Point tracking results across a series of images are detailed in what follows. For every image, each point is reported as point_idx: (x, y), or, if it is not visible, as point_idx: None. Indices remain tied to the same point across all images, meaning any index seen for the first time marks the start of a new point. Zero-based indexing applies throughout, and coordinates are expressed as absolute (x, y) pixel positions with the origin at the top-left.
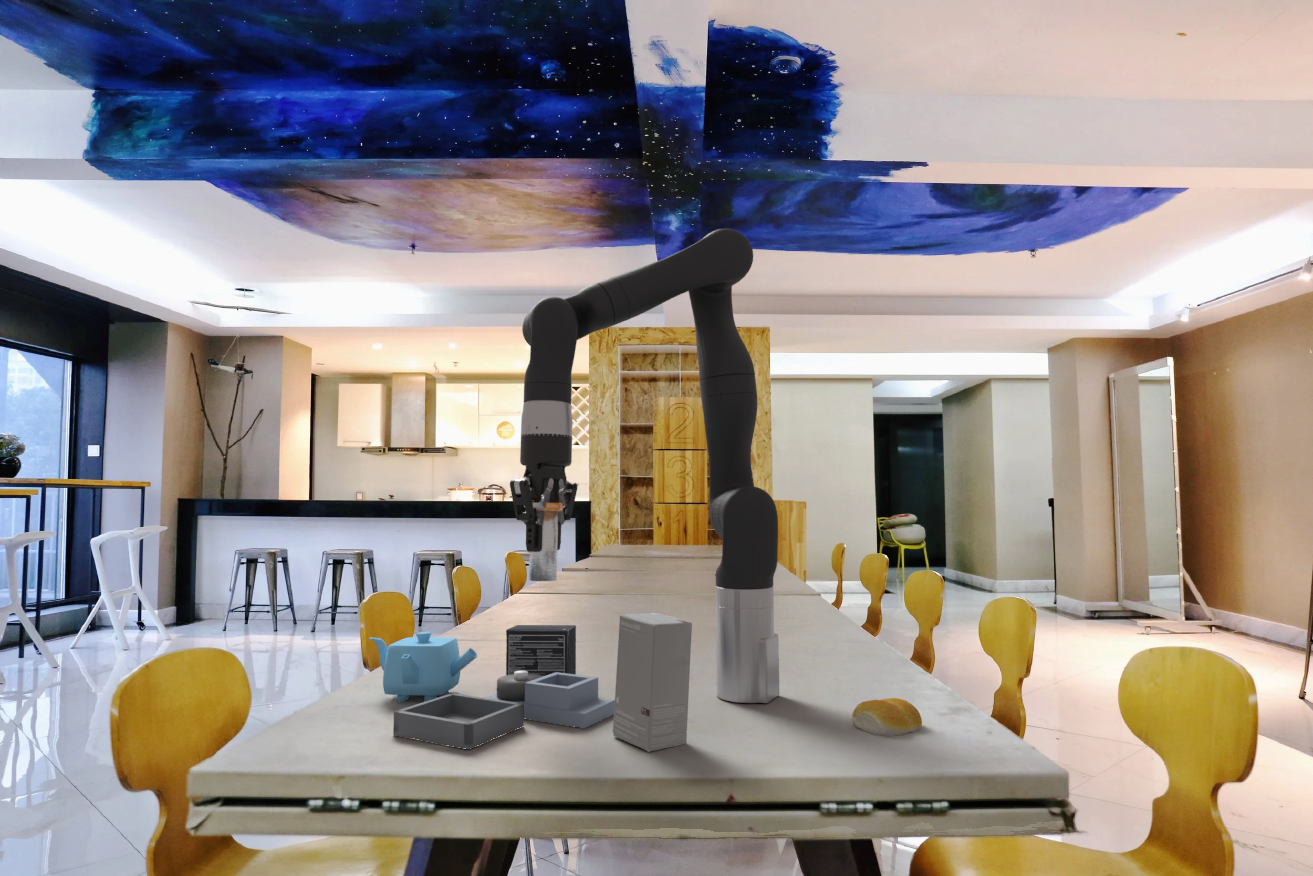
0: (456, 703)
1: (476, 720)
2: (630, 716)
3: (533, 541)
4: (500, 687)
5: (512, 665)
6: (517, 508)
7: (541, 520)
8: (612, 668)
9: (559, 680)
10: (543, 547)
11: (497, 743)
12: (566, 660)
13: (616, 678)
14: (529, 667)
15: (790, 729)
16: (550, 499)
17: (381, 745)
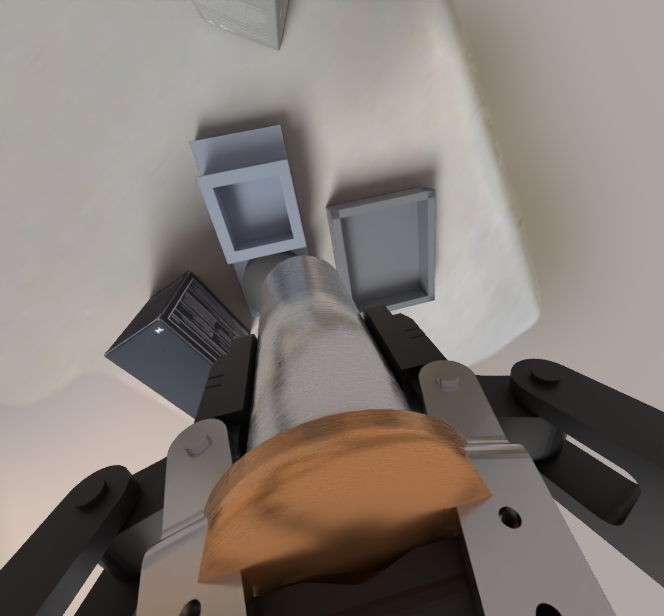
0: None
1: (418, 197)
2: None
3: (417, 325)
4: None
5: None
6: (608, 471)
7: (438, 377)
8: (16, 349)
9: (234, 245)
10: (356, 311)
11: (386, 181)
12: (177, 294)
13: (277, 7)
14: (224, 330)
15: None
16: (377, 601)
17: (447, 273)
